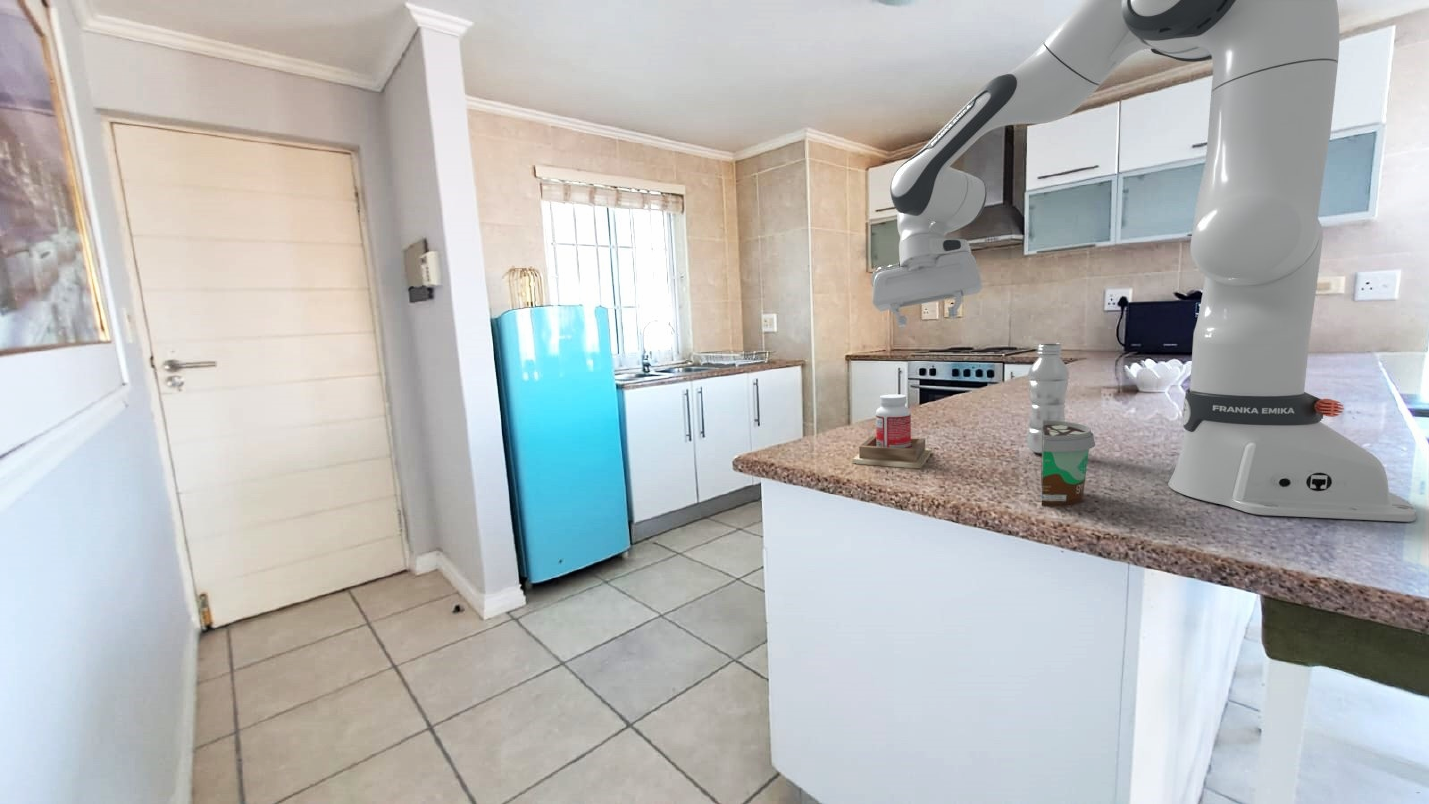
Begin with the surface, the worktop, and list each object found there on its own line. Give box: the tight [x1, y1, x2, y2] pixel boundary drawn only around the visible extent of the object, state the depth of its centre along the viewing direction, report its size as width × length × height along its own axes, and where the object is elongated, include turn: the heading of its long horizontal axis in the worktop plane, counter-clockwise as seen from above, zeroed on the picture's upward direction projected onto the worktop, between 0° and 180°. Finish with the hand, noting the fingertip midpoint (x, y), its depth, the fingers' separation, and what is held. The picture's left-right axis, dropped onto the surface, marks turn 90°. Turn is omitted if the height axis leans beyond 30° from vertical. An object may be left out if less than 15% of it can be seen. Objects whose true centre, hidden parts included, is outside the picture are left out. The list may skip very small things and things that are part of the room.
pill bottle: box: [875, 393, 912, 449], centre depth 103 cm, size 6×6×11 cm
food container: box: [1040, 420, 1096, 507], centre depth 77 cm, size 12×6×10 cm, turn 150°
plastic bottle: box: [1025, 343, 1070, 455], centre depth 100 cm, size 6×7×20 cm
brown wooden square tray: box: [852, 435, 933, 469], centre depth 104 cm, size 12×12×3 cm
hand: (927, 321), depth 107 cm, fingers open, 8 cm apart
